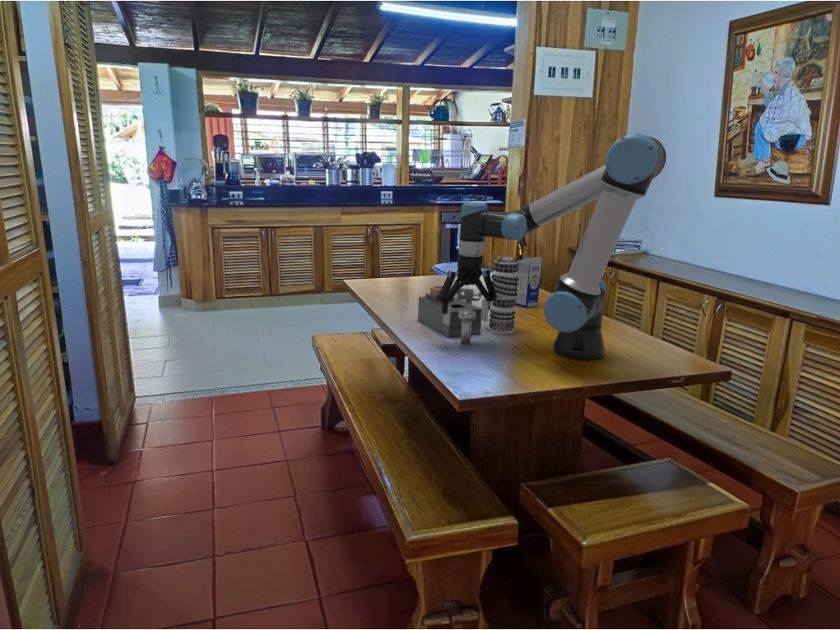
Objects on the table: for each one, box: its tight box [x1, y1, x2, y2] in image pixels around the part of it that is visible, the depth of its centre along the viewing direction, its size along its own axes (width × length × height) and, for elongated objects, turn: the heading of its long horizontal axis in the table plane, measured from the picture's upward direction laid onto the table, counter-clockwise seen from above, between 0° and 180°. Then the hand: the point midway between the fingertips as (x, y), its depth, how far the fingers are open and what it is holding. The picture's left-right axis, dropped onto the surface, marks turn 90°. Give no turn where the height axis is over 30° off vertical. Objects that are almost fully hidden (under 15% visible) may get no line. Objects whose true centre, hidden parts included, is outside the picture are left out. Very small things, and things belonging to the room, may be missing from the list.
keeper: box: [429, 285, 443, 297], centre depth 204 cm, size 4×4×4 cm
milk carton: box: [514, 255, 543, 309], centre depth 231 cm, size 7×7×20 cm
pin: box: [458, 310, 476, 346], centre depth 181 cm, size 5×5×10 cm
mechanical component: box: [456, 287, 483, 305], centre depth 213 cm, size 3×10×10 cm, turn 78°
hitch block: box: [417, 293, 482, 339], centre depth 198 cm, size 22×12×10 cm, turn 27°
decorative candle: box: [488, 255, 519, 335], centre depth 194 cm, size 9×9×25 cm
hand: (465, 322), depth 181 cm, fingers open, 13 cm apart
